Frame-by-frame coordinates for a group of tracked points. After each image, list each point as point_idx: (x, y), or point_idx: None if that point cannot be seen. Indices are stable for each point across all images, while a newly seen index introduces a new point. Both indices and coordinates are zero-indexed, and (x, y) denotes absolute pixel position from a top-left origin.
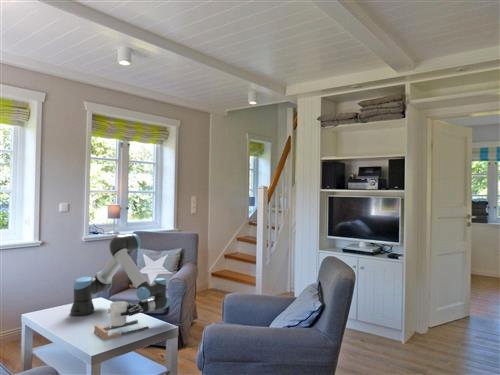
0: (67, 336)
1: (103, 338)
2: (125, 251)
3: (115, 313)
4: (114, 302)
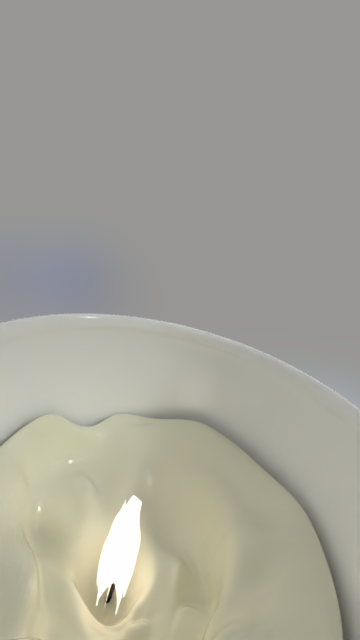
0: None
1: None
2: None
3: None
4: (357, 420)
